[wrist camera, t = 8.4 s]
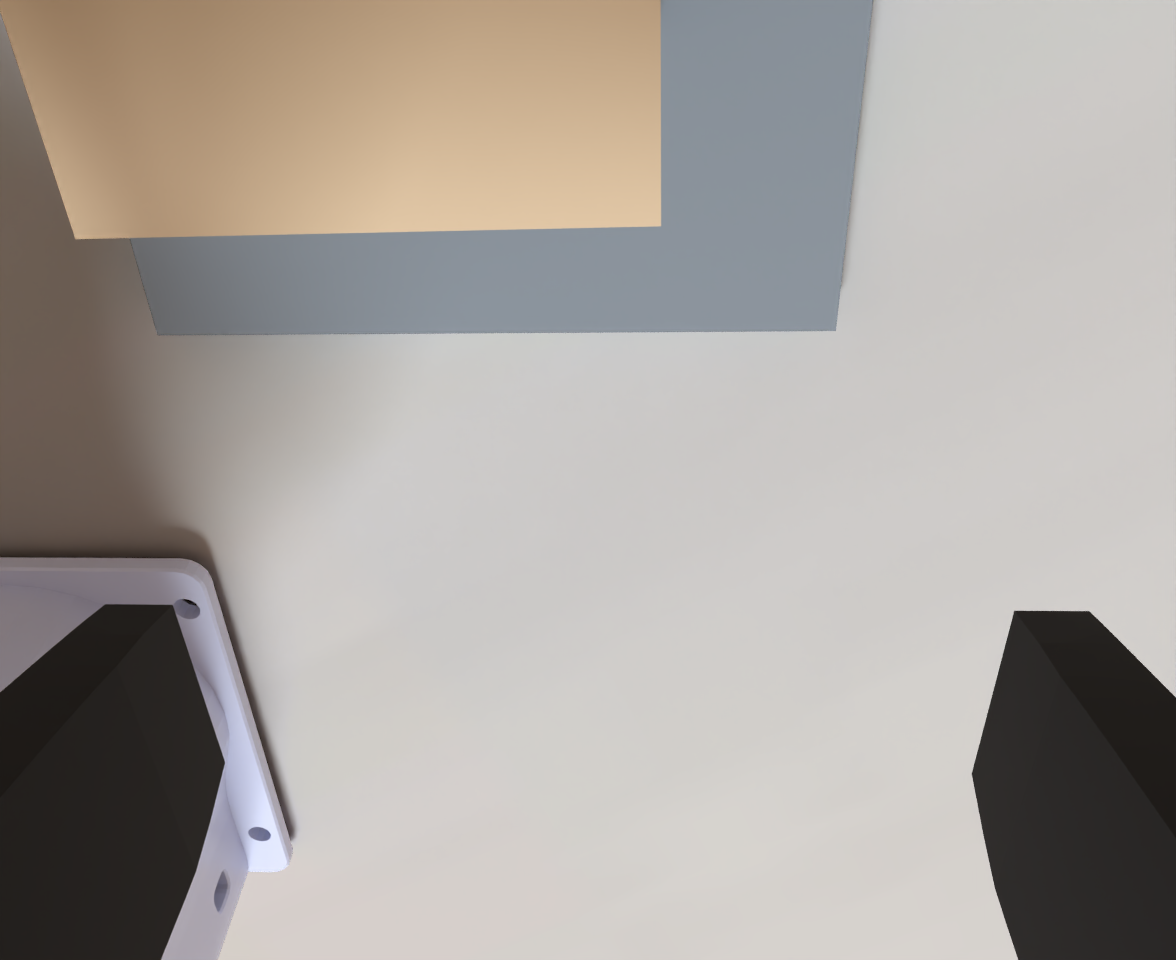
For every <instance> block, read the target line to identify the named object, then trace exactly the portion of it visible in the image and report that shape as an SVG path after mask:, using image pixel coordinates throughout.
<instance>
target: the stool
mask: <svg viewBox="0 0 1176 960" xmlns="http://www.w3.org/2000/svg"><path fill="white" fill-rule="evenodd" d="M0 12H1V15H2V18H3V21H4V24H5V27H6V31H7V34H8V37H9V40H10V43H11V46H12V49H13V52H14V55H15V58H16V61H17V64H18V67H19V70H20V73H21V76H22V79H23V82H24V85H25V88H26V91H27V94H28V97H29V100H30V103H31V106H32V109H33V112H34V115H35V118H36V121H37V124H38V127H39V130H40V133H41V137H42V140H43V143H44V146H45V149H46V152H47V155H48V158H49V161H50V164H51V167H52V170H53V173H54V176H55V179H56V182H57V185H58V188H59V191H60V194H61V197H62V200H63V203H64V206H65V209H66V212H67V215H68V218H69V221H70V224H71V227H72V230H73V233H74V236H75V239H105V238H151V237H196V236H242V235H288V234H333V233H379V232H425V231H470V230H516V229H562V228H608V227H653V226H661V0H0Z"/></svg>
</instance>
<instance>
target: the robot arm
mask: <svg viewBox="0 0 1176 960" xmlns="http://www.w3.org/2000/svg"><path fill="white" fill-rule="evenodd" d="M183 599H187V600H191V601H193V602H194V603H196V604H197V605H198V606H195V605H190V604H188V603H187V602H185V601H184V600H183ZM972 777H973V782H974V787H975V793H976V798H977V803H978V808H979V814H980V819H981V824H982V829H983V834H984V839H985V844H986V848H987V853H988V858H989V862H990V867H991V872H992V876H993V881H994V885H995V889H996V892H997V896H998V899H999V902H1000V905H1001V908H1002V911H1003V914H1004V918H1005V921H1006V924H1007V927H1008V930H1009V933H1010V936H1011V939H1012V942H1013V945H1014V948H1015V951H1016V954H1017V957H1018V960H1176V697H1175V696H1174V695H1173V694H1172V693H1171V692H1170V691H1169V690H1168V689H1167V688H1166V687H1165V686H1164V685H1163V684H1162V683H1161V682H1160V681H1159V680H1158V679H1157V678H1156V677H1155V676H1154V675H1153V674H1152V673H1151V672H1150V671H1149V670H1148V669H1147V668H1146V667H1145V666H1144V665H1143V664H1142V663H1141V662H1140V661H1139V660H1138V659H1137V658H1136V657H1135V656H1134V655H1133V654H1132V653H1131V652H1130V651H1129V650H1128V649H1127V648H1126V647H1125V646H1124V645H1123V644H1122V643H1121V642H1120V641H1119V640H1118V639H1117V638H1116V637H1115V636H1114V635H1113V634H1112V633H1111V632H1110V631H1109V630H1108V629H1107V628H1106V627H1105V626H1104V625H1103V624H1102V623H1101V622H1100V621H1099V620H1098V619H1097V618H1096V617H1095V616H1094V615H1092V614H1091V613H1090V612H1089V611H1014V615H1013V619H1012V622H1011V626H1010V630H1009V634H1008V638H1007V641H1006V645H1005V649H1004V653H1003V657H1002V661H1001V664H1000V668H999V672H998V676H997V680H996V684H995V687H994V691H993V695H992V699H991V703H990V706H989V710H988V714H987V718H986V722H985V726H984V729H983V733H982V737H981V741H980V745H979V749H978V752H977V756H976V760H975V764H974V768H973V772H972ZM292 854H293V848H292V845H291V841H290V838H289V835H288V831H287V828H286V824H285V821H284V818H283V814H282V811H281V808H280V804H279V801H278V798H277V794H276V791H275V788H274V784H273V781H272V778H271V774H270V771H269V768H268V764H267V761H266V758H265V754H264V751H263V748H262V744H261V741H260V738H259V734H258V731H257V728H256V724H255V721H254V718H253V714H252V711H251V708H250V704H249V701H248V698H247V694H246V691H245V688H244V684H243V681H242V678H241V674H240V671H239V668H238V664H237V661H236V658H235V654H234V651H233V648H232V644H231V641H230V638H229V634H228V631H227V628H226V624H225V621H224V618H223V614H222V611H221V608H220V604H219V601H218V598H217V594H216V591H215V588H214V584H213V581H212V578H211V576H210V574H209V572H208V571H207V570H206V569H205V568H204V567H203V566H202V565H200V564H199V563H196V562H194V561H192V560H188V559H182V558H14V557H0V960H218V957H219V954H220V952H221V949H222V946H223V943H224V940H225V937H226V934H227V931H228V928H229V925H230V923H231V920H232V917H233V914H234V911H235V908H236V905H237V902H238V899H239V897H240V894H241V891H242V888H243V885H244V882H245V879H246V876H247V873H248V872H277V871H281V870H283V869H285V868H287V866H288V865H289V863H290V860H291V857H292Z"/></svg>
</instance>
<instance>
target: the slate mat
mask: <svg viewBox="0 0 1176 960" xmlns="http://www.w3.org/2000/svg"><path fill="white" fill-rule="evenodd" d="M872 4H873V0H661V226H653V227H608V228H562V229H516V230H470V231H425V232H379V233H333V234H288V235H242V236H196V237H151V238H130V241H131V245H132V248H133V252H134V255H135V259H136V262H137V266H138V269H139V273H140V276H141V280H142V283H143V286H144V290H145V293H146V297H147V300H148V304H149V307H150V311H151V314H152V318H153V321H154V325H155V328H156V331H157V335H277V334H434V333H590V332H746V331H836V324H837V315H838V306H839V297H840V288H841V280H842V271H843V262H844V253H845V244H846V235H847V226H848V217H849V209H850V200H851V191H852V182H853V173H854V164H855V155H856V146H857V138H858V129H859V120H860V111H861V102H862V93H863V84H864V75H865V67H866V58H867V49H868V40H869V31H870V22H871V13H872Z"/></svg>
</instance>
